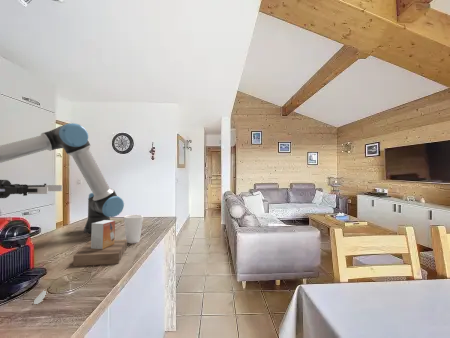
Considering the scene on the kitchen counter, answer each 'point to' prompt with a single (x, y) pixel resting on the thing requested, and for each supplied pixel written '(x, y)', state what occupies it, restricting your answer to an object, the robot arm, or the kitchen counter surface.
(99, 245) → the small box
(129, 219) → the foam cup
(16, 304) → the kitchen counter surface
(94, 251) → the walnut plinth
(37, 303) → the butter knife
